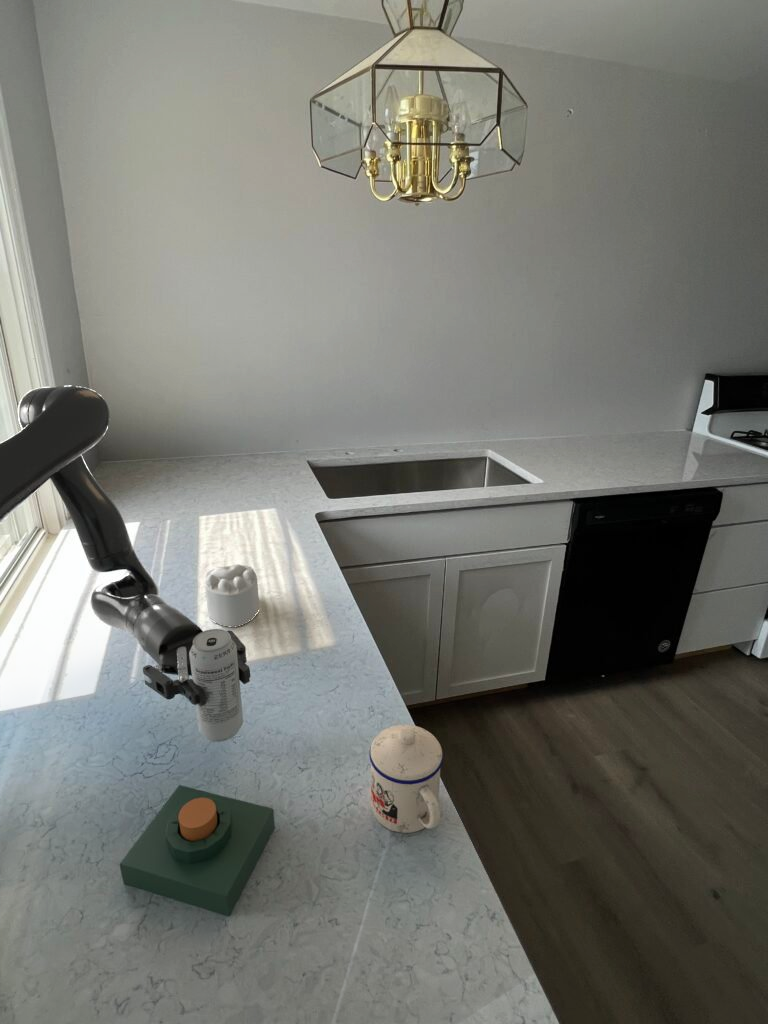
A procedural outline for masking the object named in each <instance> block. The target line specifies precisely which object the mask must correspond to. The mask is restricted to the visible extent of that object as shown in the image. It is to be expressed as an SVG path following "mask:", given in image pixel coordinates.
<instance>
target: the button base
mask: <svg viewBox="0 0 768 1024" xmlns="http://www.w3.org/2000/svg"><path fill="white" fill-rule="evenodd" d="M197 798H208V799H210V800H212V801H213V802H214V803H215V806H216V813H217V826H216V828H215V830H214V832H213V833H212V834H211V835H210V836H208V837H207V838H205V839H203V840H199V841H189V840H186V839H185V838H184V837H183V836H182V834H181V830H180V824H179V813H180V811H181V809H182V808H183V806H184V805H185V804H187V803H188V802H189V801H191V800H193V799H197ZM274 812H275V811H274V808H273V807H268V806H264V805H262V804H261V805H260V804H256V803H252V802H248V801H245V800H241V799H236V798H233V797H229V796H224V795H221V794H217V793H213V792H209V791H204V790H201V789H197V788H193V787H190V786H185V785H181V784H179V785H178V786H177V787H176V788H175V790H174V791H173V793H172V794H171V795H170V796H169V798H168V799H167V800H166V801H165V803H164V804H163V806H162V807H161V808H160V810H159V811H158V813H156V815H155V816H154V818H153V819H152V820H151V821H150V823H149V824H148V825H147V826H146V828H145V829H144V831H143V832H142V833H141V835H140V836H139V837H138V839H137V840H136V841H135V842H134V844H133V845H132V847H131V848H130V849H129V851H128V852H127V853H126V854H125V856H124V857H123V859H121V861H120V862H119V868H120V874H121V877H122V882H123V885H125V886H128V887H132V888H134V889H138V890H142V891H145V892H147V893H151V894H154V895H156V896H157V895H158V896H160V897H164V898H167V899H170V900H173V901H177V902H180V903H183V904H185V905H186V904H187V905H190V906H193V907H197V908H199V909H204V910H207V911H209V912H212V913H216V914H219V915H221V916H225V917H228V918H229V917H230V916H231V914H232V912H233V910H234V908H235V907H236V905H237V902H238V900H239V899H240V897H241V895H242V893H243V891H244V889H245V888H246V885H247V883H248V882H249V879H250V878H251V875H252V874H253V872H254V869H255V868H256V865H257V864H258V862H259V860H260V858H261V856H262V854H263V852H264V850H265V848H266V846H267V844H268V842H269V840H270V839H271V836H272V834H273V833H274V830H275V829H276V826H275V825H276V824H275V823H276V822H275V813H274Z"/></svg>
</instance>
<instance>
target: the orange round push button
mask: <svg viewBox="0 0 768 1024" xmlns="http://www.w3.org/2000/svg"><path fill="white" fill-rule="evenodd" d="M179 824H180V830H181V834H182V836H183V837H184V838H185V839H186V840H189V841H199V840H203V839H205V838H207V837H208V836H210V835H211V834H212V833H213V832H214V830H215V828H216V826H217V813H216V806H215V803H214V802H213V801H212V800H210V799H208V798H197V799H193V800H191V801H189V802H188V803H187V804H185V805H184V806H183V808H182V809H181V811H180V813H179Z"/></svg>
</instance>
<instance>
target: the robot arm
mask: <svg viewBox="0 0 768 1024" xmlns="http://www.w3.org/2000/svg"><path fill="white" fill-rule="evenodd" d="M17 417H18V422H19V425H20V428H21V430H19V432H17V433H15V434H14V435H12V436H11V437H9V438H7V439H6V440H4V441H1V442H0V525H1V524H2V523H3V522H4V521H6V520H7V519H8V518H9V517H10V516H11V515H12V514H13V513H14V512H16V510H17V509H19V508H20V507H21V506H22V505H23V504H24V503H25V502H26V501H27V500H28V499H30V498H31V497H32V496H33V495H34V494H35V493H36V492H37V491H39V489H40V488H41V487H42V486H43V485H44V484H45V483H47V482H48V481H49V480H51V482H52V484H53V486H54V488H55V489H56V491H57V493H58V494H59V496H60V498H61V500H62V502H63V505H64V506H65V508H66V510H67V512H68V514H69V516H70V519H71V521H72V523H73V526H74V528H75V530H76V533H77V536H78V539H79V541H80V544H81V547H82V549H83V551H84V554H85V557H86V560H87V563H88V565H89V567H90V568H91V570H93V571H94V572H97V573H111V572H116V571H123V570H125V571H126V573H125V574H123V575H120V576H118V577H115V578H114V579H111V580H109V581H107V582H105V583H102V584H100V585H98V586H97V587H95V589H93V591H92V593H91V595H90V607H91V609H92V612H93V613H94V615H95V616H96V617H97V618H98V619H99V620H100V621H101V622H102V623H104V624H106V625H107V626H110V627H112V628H115V629H119V630H122V631H124V632H126V633H129V634H130V635H132V636H133V637H134V639H136V640H137V642H138V644H139V646H140V647H141V648H142V650H143V652H145V653H147V654H148V655H149V657H151V658H152V659H153V661H154V662H155V663H156V664H157V665H155V666H152V665H151V664H147V665H144V666H143V667H142V673H143V680H144V685H146V686H147V687H148V688H150V689H151V690H153V691H154V692H156V693H157V694H158V695H160V696H161V697H162V698H163V699H166V700H168V701H169V700H172V699H174V698H175V696H176V695H180V696H184V697H185V698H186V699H187V700H188V702H190V703H191V705H193V706H196V705H197V704H198V705H199V706H200V707H201V706H203V705H205V704H206V697H205V692H204V691H203V690H202V689H201V688H200V687H199V686H198V685H197V684H195V683H194V681H193V680H192V678H190V676H191V677H192V672H191V664H190V656H189V652H190V650H191V648H192V646H193V640H194V638H195V637H196V636H197V635H198V634H200V633H201V632H204V630H203V629H202V628H201V627H200V626H198V625H197V624H196V623H195V622H194V621H193V620H191V619H190V618H189V617H188V616H187V615H185V614H184V613H183V612H182V611H180V610H179V609H177V608H176V607H173V606H171V605H170V604H169V603H168V602H167V601H166V600H164V599H163V598H162V597H161V596H160V589H159V586H158V583H157V582H156V580H155V579H154V577H153V576H152V575H151V573H149V571H148V570H147V569H146V567H145V566H144V564H143V563H142V562H141V560H140V558H139V556H138V555H137V553H136V551H135V549H134V546H133V544H132V541H131V538H130V535H129V532H128V529H127V526H126V524H125V523H126V522H125V521H124V518H123V516H122V514H121V512H120V510H119V509H118V507H117V506H116V504H115V503H114V502H113V500H112V499H111V497H110V496H109V495H108V494H107V492H106V491H105V490H104V489H103V488H102V486H101V485H100V484H99V483H98V481H97V480H96V478H95V477H94V476H93V474H92V472H91V471H90V469H89V467H88V466H87V464H86V462H85V459H84V457H83V454H84V453H86V452H87V451H89V450H90V449H92V448H93V447H94V446H95V445H97V444H98V443H99V442H100V441H101V440H102V438H104V436H105V434H106V432H107V430H108V427H109V425H110V421H111V420H110V418H111V415H110V408H109V405H108V403H107V401H106V400H105V398H103V396H102V395H101V394H100V393H98V392H97V391H95V390H93V389H91V388H88V387H84V386H78V385H62V386H61V385H60V386H46V387H45V386H43V387H38V388H34V389H32V390H31V389H30V390H29V391H28V392H26V393H25V394H24V395H23V396H22V398H21V399H20V401H19V404H18V408H17ZM226 631H227V632H229V634H230V635H231V639H232V640H233V641H234V642H235V644H236V647H237V659H238V670H239V681H240V682H241V683H242V684H243V685H246V684H248V683H250V678H251V668H250V666H249V665H247V662H248V661H247V654H246V653H247V652H246V650H247V648H246V645H245V644H244V643H243V642H242V640H240V639H239V637H238V636H237V635H236V633H234V631H233V630H230V629H229V630H226ZM168 675H174V676H177V679H174V680H173V679H172V678H171V677H169V676H168Z"/></svg>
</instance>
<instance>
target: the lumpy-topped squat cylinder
mask: <svg viewBox="0 0 768 1024" xmlns="http://www.w3.org/2000/svg"><path fill="white" fill-rule="evenodd" d="M203 582H204V592H205V602H206V609H207V616H208V615H209V617H208V619H209V618H210V619H211V620H213V621H215V622H216V623H218V624H221V625H225V626H231V627H234V628H236V627H235V626H239V625H242V624H245V623H246V622H248V621H249V620H251V619H252V618H253V617H254V616H255V614H256V613H257V612H258V610H259V609H260V599H259V598H260V597H259V585H258V583H259V582H258V577H257V574H256V572H255V570H254V568H252V567H251V566H249V565H244V564H233V565H228V566H227V565H226V566H225V565H224V566H218V567H216V568H213V569H210V570H209V571H207V572H206V573H205V574H204V579H203ZM210 619H209V620H210ZM211 620H210V621H211ZM245 625H246V624H245Z"/></svg>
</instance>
